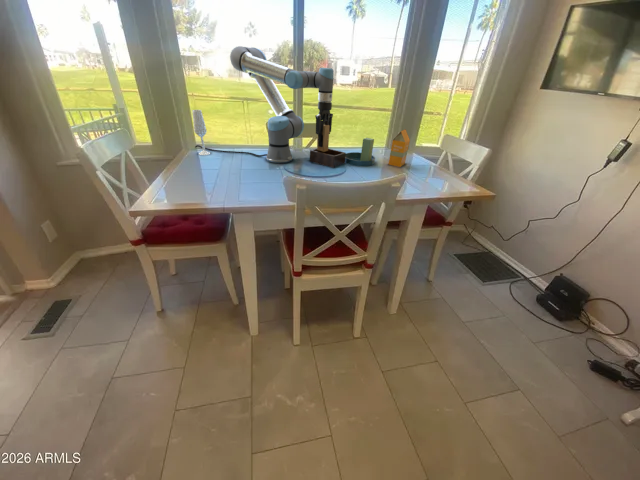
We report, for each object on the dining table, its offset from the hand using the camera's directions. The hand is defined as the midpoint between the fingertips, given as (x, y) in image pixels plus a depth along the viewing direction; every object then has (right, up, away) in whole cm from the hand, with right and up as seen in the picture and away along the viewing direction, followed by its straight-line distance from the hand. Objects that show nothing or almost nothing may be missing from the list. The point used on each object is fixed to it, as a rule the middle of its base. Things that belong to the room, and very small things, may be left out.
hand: (322, 145), depth 159 cm
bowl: (+22, -8, +7) cm, 24 cm away
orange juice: (+45, -10, +6) cm, 46 cm away
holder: (+3, -9, +3) cm, 10 cm away
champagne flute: (-72, -3, +6) cm, 73 cm away
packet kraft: (0, -2, +1) cm, 3 cm away
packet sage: (+26, -9, +4) cm, 27 cm away
